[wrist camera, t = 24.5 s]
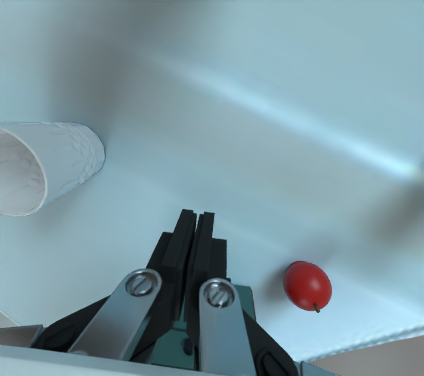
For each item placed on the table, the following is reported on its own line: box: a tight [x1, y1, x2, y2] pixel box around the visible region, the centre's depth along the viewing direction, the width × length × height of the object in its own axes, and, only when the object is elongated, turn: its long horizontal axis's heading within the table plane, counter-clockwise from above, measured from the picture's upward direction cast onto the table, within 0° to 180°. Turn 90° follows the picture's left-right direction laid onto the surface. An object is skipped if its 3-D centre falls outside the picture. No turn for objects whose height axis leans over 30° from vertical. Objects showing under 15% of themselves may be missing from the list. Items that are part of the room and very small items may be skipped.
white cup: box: [0, 122, 105, 217], centre depth 22 cm, size 8×8×10 cm
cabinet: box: [151, 290, 256, 371], centre depth 28 cm, size 18×16×16 cm
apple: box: [283, 261, 332, 313], centre depth 27 cm, size 6×6×7 cm
